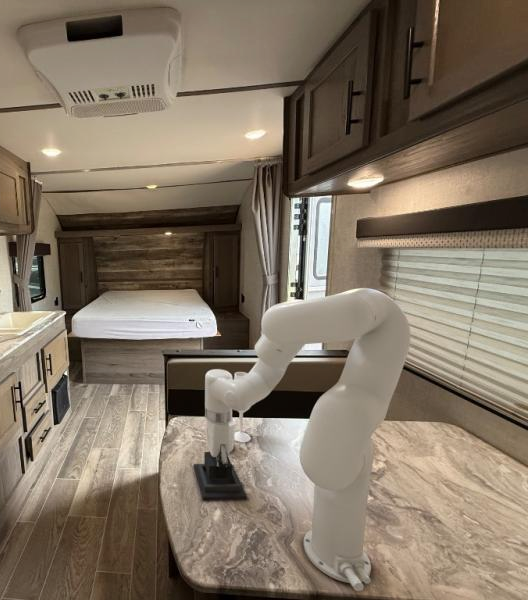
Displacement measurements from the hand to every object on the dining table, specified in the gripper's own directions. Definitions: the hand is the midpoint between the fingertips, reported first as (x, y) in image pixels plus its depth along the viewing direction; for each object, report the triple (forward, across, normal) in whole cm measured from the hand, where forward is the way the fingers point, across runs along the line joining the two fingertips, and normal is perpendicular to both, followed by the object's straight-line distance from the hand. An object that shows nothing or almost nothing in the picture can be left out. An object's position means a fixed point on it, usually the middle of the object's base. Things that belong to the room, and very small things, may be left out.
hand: (217, 468), depth 97 cm
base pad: (+4, 0, 0) cm, 4 cm away
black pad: (+1, 0, 0) cm, 1 cm away
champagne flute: (+4, -23, +14) cm, 27 cm away
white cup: (+5, -17, +6) cm, 18 cm away
